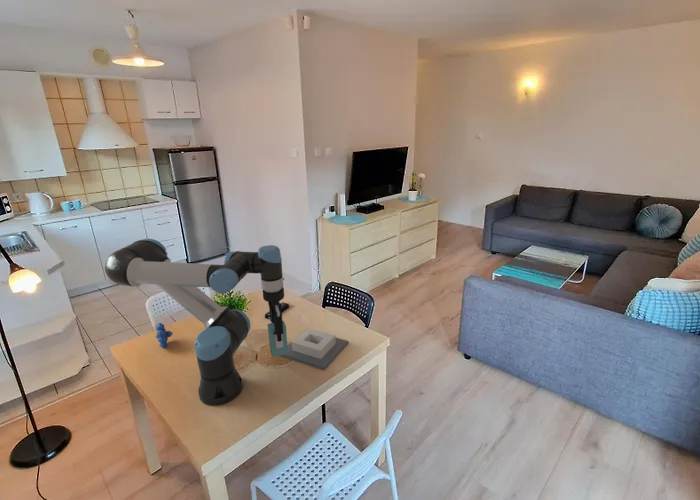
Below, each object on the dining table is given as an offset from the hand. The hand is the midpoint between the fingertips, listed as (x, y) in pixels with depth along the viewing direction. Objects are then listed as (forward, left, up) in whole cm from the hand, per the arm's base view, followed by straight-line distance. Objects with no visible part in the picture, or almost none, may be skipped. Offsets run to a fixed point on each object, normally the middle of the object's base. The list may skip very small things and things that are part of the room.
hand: (278, 343), depth 140 cm
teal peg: (0, 0, -4) cm, 4 cm away
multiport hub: (+36, +30, -13) cm, 49 cm away
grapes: (-9, +56, -12) cm, 58 cm away
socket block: (+17, -4, -12) cm, 21 cm away
